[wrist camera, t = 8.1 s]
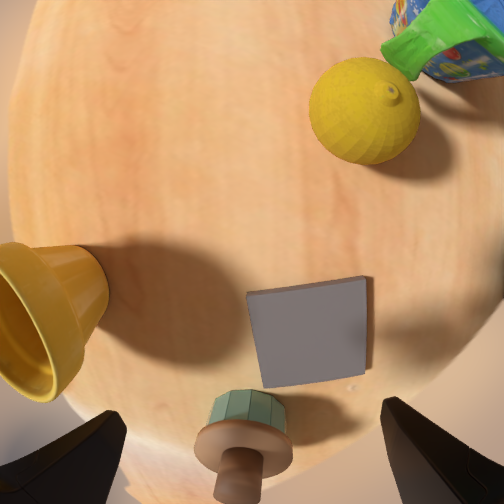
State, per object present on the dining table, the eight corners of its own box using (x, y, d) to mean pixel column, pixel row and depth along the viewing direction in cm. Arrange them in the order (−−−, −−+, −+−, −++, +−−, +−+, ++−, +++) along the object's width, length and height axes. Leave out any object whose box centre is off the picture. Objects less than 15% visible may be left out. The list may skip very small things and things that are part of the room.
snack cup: (408, 142, 16) (509, 119, 6) (313, 24, 15) (335, -73, 5) (506, 72, 13) (577, 49, 3) (435, -19, 11) (483, -70, 1)
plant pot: (113, 359, 22) (55, 428, 13) (34, 297, 22) (-34, 339, 12) (149, 265, 20) (65, 328, 10) (54, 201, 19) (-38, 221, 10)
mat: (362, 275, 18) (366, 279, 18) (362, 368, 20) (364, 373, 19) (247, 292, 19) (246, 296, 19) (264, 382, 21) (263, 388, 20)
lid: (288, 416, 17) (288, 472, 12) (295, 468, 19) (296, 514, 14) (184, 418, 18) (165, 468, 13) (210, 470, 20) (199, 512, 15)
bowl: (281, 387, 21) (281, 421, 17) (288, 435, 23) (288, 467, 19) (203, 391, 22) (192, 423, 18) (220, 437, 23) (214, 468, 20)
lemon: (398, 139, 16) (467, 120, 8) (337, 184, 17) (382, 187, 9) (349, 74, 15) (389, 16, 8) (284, 115, 16) (290, 67, 9)
